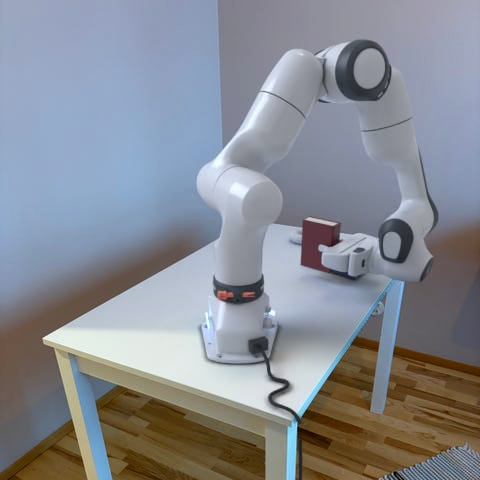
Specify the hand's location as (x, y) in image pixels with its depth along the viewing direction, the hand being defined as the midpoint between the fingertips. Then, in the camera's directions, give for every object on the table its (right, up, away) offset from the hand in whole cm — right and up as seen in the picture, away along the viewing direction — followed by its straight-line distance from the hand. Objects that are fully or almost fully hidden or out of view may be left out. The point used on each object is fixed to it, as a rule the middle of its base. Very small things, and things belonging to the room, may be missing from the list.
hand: (324, 244), depth 132 cm
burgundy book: (-1, -6, +5) cm, 8 cm away
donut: (-1, +7, +34) cm, 35 cm away
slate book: (+7, -4, +15) cm, 17 cm away
